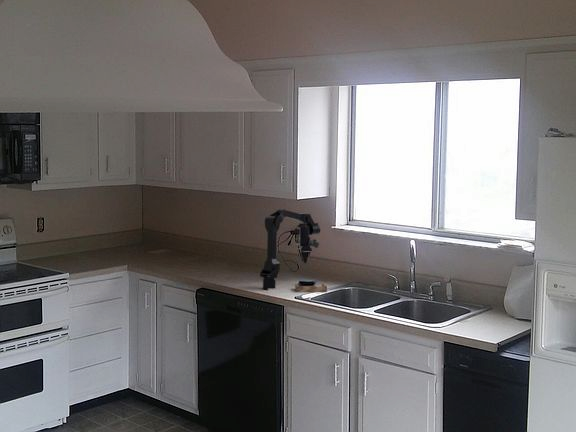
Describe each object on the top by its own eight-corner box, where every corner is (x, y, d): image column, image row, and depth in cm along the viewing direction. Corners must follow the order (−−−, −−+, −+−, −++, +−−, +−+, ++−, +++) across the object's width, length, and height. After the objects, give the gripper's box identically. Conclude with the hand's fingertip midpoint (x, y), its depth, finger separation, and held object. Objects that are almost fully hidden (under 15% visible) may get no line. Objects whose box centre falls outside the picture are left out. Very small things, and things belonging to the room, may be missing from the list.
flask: (298, 280, 419) (301, 278, 429) (298, 285, 419) (301, 284, 429) (314, 281, 417) (317, 279, 428) (314, 286, 417) (317, 284, 428)
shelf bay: (297, 292, 400) (298, 286, 399) (295, 288, 411) (295, 283, 411) (326, 292, 401) (326, 286, 401) (323, 288, 413) (323, 283, 413)
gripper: (320, 236, 423) (320, 264, 424) (315, 234, 442) (315, 260, 442) (301, 236, 422) (301, 264, 423) (297, 233, 440) (296, 260, 441)
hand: (304, 262), depth 432 cm, fingers open, 9 cm apart
